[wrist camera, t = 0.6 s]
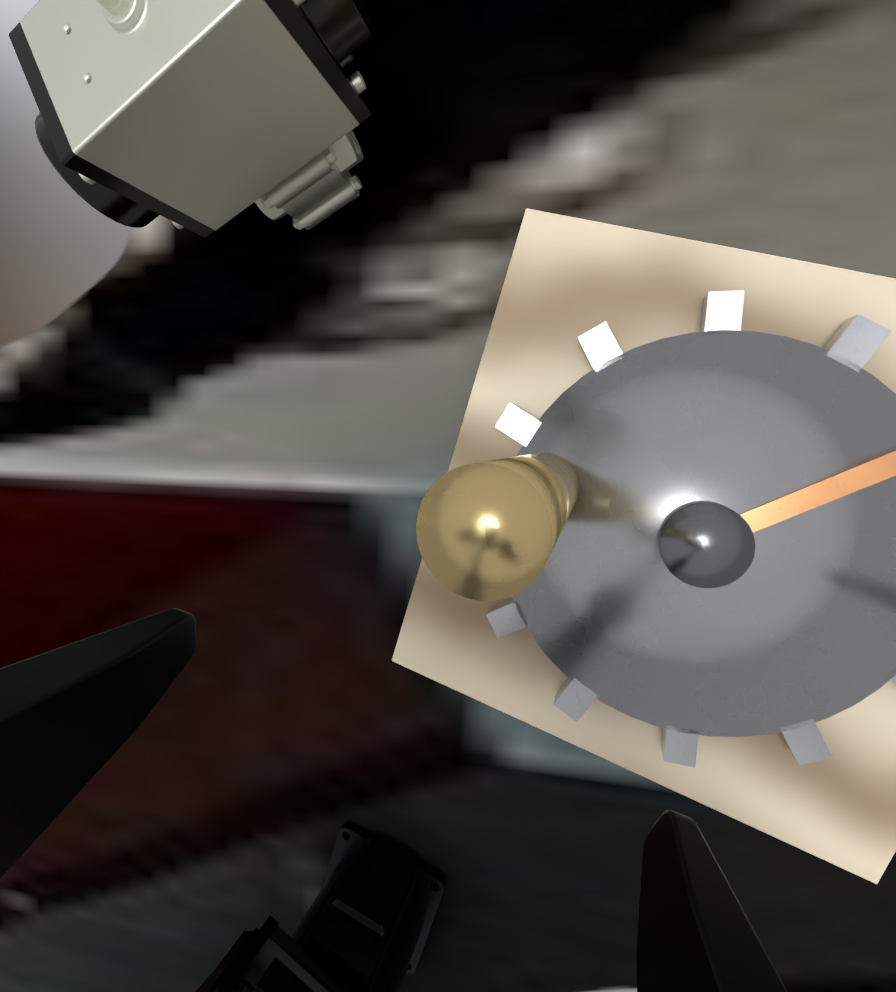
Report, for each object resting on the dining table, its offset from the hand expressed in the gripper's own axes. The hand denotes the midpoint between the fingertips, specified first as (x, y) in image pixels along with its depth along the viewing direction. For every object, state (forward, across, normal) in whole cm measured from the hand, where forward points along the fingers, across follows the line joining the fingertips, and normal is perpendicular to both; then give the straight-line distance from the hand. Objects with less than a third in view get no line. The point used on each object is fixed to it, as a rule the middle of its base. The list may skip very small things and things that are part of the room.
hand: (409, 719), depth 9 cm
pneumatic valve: (+21, +14, -8) cm, 26 cm away
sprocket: (+14, -8, +1) cm, 16 cm away
